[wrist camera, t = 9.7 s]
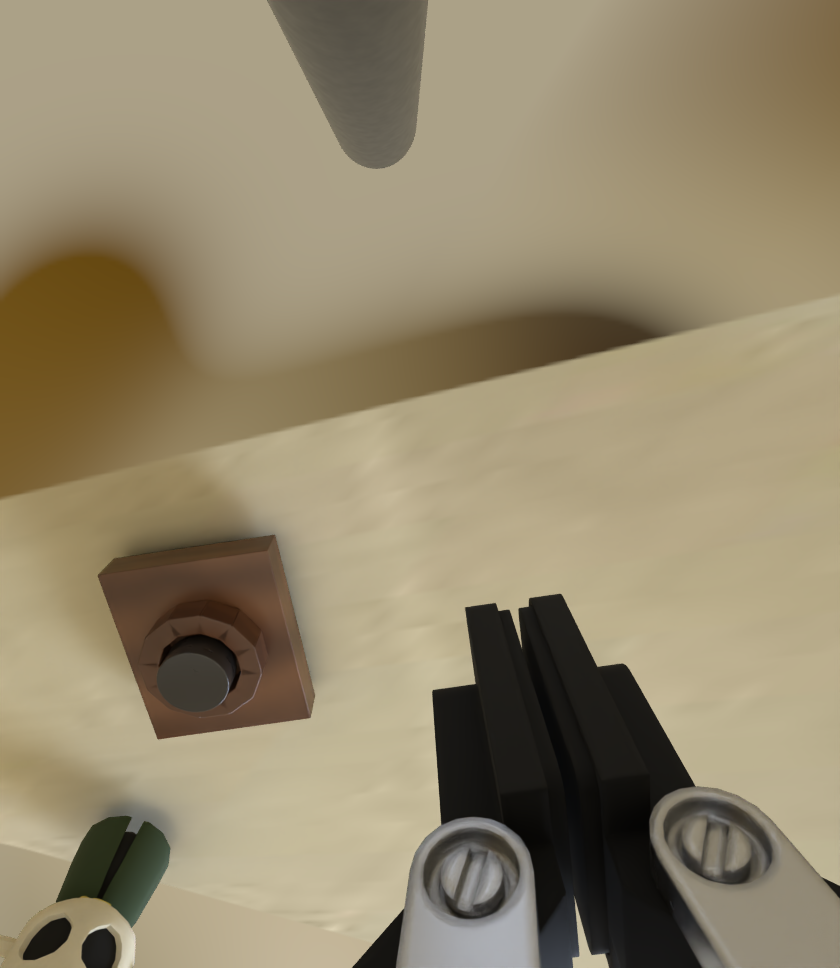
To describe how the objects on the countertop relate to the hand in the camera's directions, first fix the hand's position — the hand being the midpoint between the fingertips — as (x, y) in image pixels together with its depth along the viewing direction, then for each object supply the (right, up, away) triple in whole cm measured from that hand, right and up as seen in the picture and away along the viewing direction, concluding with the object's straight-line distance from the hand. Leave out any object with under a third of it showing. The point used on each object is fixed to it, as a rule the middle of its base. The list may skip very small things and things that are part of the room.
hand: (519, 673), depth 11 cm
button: (-15, -7, +25) cm, 30 cm away
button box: (-15, -6, +28) cm, 32 cm away
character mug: (-23, -23, +34) cm, 47 cm away
